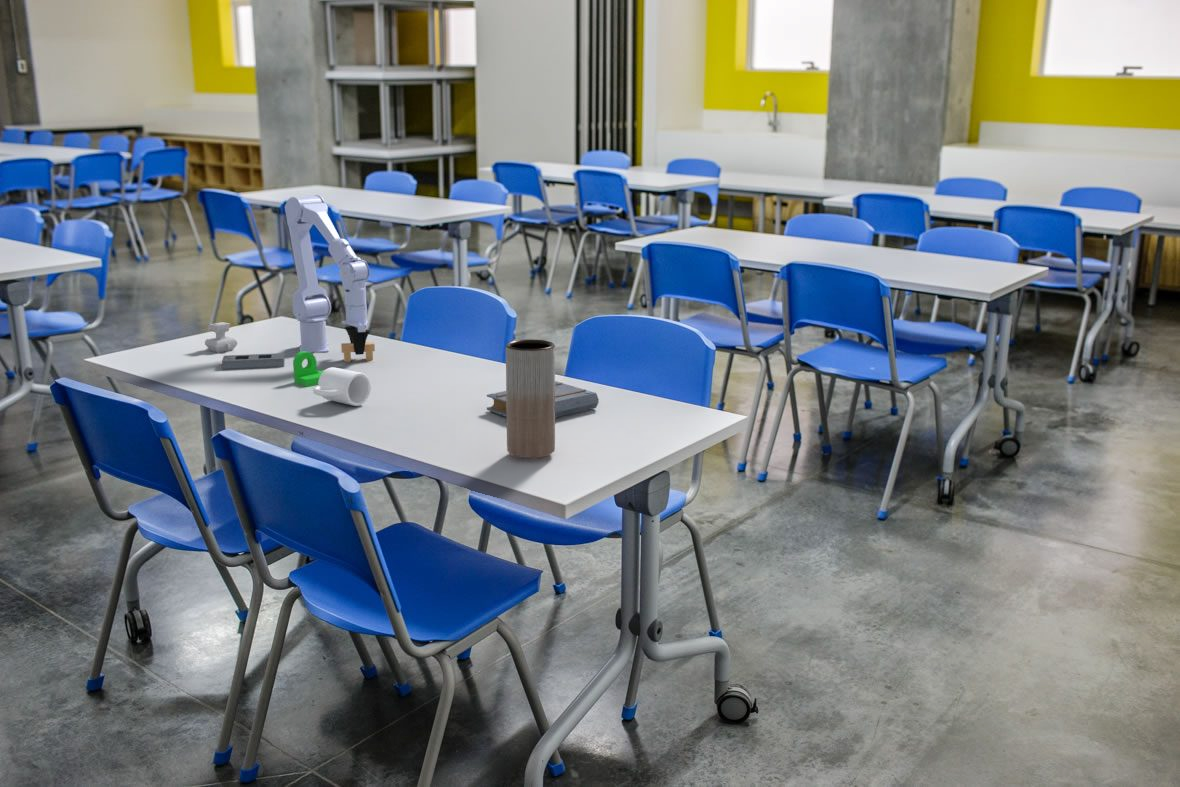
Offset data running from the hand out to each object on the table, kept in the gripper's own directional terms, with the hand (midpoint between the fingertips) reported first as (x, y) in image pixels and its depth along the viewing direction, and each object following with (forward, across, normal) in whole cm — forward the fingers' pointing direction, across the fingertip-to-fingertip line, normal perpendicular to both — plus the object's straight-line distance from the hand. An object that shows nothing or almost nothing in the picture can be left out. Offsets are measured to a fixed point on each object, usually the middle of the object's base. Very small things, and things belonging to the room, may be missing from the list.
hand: (358, 352), depth 309 cm
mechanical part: (+3, +18, -13) cm, 23 cm away
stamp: (+3, -26, -34) cm, 43 cm away
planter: (+3, +95, +18) cm, 97 cm away
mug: (+3, +43, -13) cm, 45 cm away
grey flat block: (+2, -4, -28) cm, 28 cm away
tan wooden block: (+2, 0, 0) cm, 2 cm away
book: (+3, +65, +31) cm, 72 cm away
